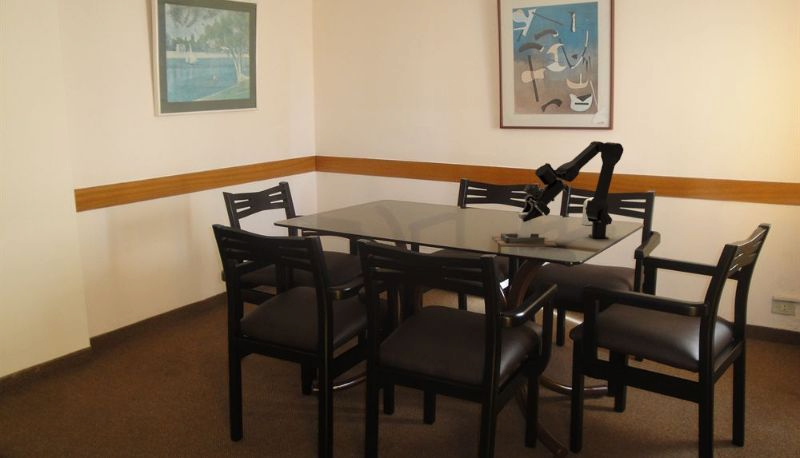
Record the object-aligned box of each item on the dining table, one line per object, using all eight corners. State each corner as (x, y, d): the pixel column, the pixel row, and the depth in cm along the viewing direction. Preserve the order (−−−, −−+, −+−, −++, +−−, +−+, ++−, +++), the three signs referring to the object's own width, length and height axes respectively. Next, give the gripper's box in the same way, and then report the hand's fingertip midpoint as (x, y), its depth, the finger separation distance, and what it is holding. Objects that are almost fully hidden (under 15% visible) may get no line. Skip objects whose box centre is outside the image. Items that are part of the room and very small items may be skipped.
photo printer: (595, 222, 328) (597, 196, 326) (603, 224, 325) (605, 197, 322) (580, 224, 323) (582, 197, 320) (587, 226, 319) (589, 198, 317)
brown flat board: (556, 246, 275) (557, 240, 274) (501, 246, 273) (501, 240, 272) (544, 237, 291) (545, 231, 290) (492, 237, 289) (492, 231, 288)
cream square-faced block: (530, 242, 280) (531, 214, 277) (520, 242, 279) (521, 214, 277) (527, 239, 284) (528, 212, 282) (517, 239, 284) (518, 212, 282)
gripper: (530, 174, 286) (502, 201, 287) (543, 180, 268) (513, 209, 269) (548, 194, 289) (520, 220, 290) (562, 201, 270) (532, 229, 271)
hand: (521, 219), depth 280 cm, fingers open, 6 cm apart
